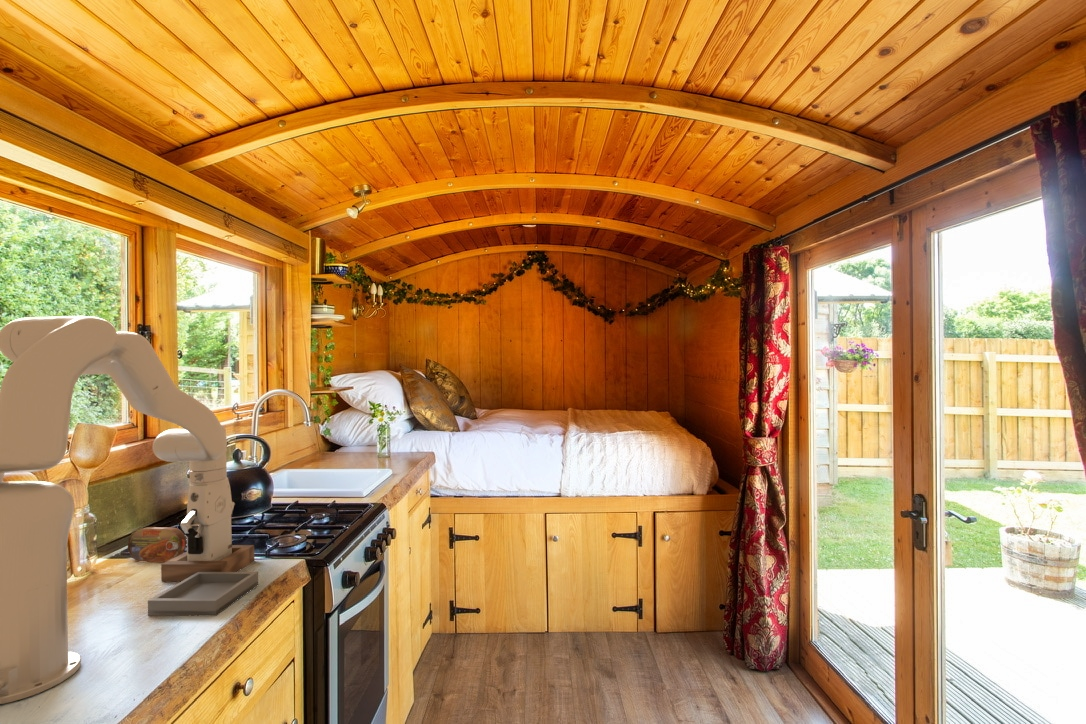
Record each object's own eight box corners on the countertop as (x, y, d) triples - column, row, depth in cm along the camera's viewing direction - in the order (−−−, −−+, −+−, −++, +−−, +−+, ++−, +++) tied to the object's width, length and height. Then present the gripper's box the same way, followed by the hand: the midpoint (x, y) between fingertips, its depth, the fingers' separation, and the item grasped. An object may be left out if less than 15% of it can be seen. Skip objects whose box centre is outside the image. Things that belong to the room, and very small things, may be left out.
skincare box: (210, 578, 120) (209, 514, 120) (185, 577, 120) (184, 514, 120) (233, 563, 128) (232, 504, 128) (210, 563, 129) (209, 504, 129)
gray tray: (215, 615, 101) (215, 600, 101) (148, 615, 102) (147, 600, 102) (258, 585, 115) (258, 571, 115) (198, 585, 116) (198, 571, 116)
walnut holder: (221, 581, 118) (221, 564, 118) (161, 581, 118) (161, 564, 118) (254, 560, 130) (254, 545, 130) (199, 560, 131) (199, 545, 131)
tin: (126, 561, 131) (126, 528, 132) (138, 556, 135) (137, 524, 135) (178, 563, 129) (178, 530, 129) (188, 558, 132) (188, 526, 133)
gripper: (197, 484, 115) (199, 560, 115) (245, 468, 133) (247, 534, 133) (165, 484, 116) (167, 560, 116) (217, 468, 133) (219, 534, 133)
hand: (209, 546), depth 124 cm, fingers open, 9 cm apart
